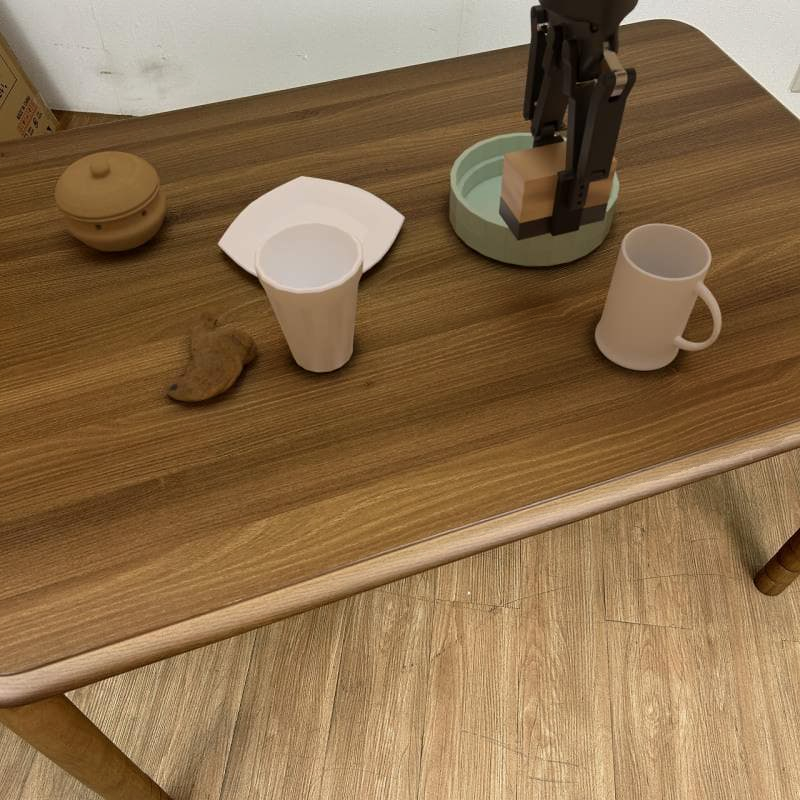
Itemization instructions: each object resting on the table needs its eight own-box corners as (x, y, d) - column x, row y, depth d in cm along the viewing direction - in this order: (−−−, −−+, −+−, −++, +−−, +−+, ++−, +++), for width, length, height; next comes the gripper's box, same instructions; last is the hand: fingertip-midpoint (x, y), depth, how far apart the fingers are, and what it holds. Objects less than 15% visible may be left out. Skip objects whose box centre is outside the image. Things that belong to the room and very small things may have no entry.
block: (582, 194, 74) (593, 134, 69) (604, 220, 71) (617, 160, 66) (498, 213, 72) (504, 153, 67) (517, 241, 69) (524, 181, 64)
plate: (425, 226, 90) (426, 213, 88) (330, 322, 80) (328, 309, 78) (301, 177, 97) (299, 163, 95) (198, 259, 87) (194, 246, 85)
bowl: (632, 198, 93) (642, 160, 88) (571, 291, 82) (580, 252, 78) (492, 155, 99) (496, 117, 95) (419, 236, 89) (420, 197, 85)
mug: (720, 368, 75) (764, 278, 65) (660, 405, 72) (696, 317, 63) (636, 301, 81) (665, 210, 72) (577, 332, 78) (599, 242, 69)
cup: (338, 403, 73) (325, 306, 63) (255, 367, 76) (230, 269, 66) (388, 337, 78) (384, 239, 68) (309, 306, 82) (294, 208, 71)
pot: (126, 193, 95) (99, 122, 87) (194, 223, 91) (173, 151, 83) (54, 244, 89) (19, 172, 81) (124, 279, 85) (94, 206, 77)
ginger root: (210, 321, 80) (202, 296, 78) (275, 364, 76) (269, 339, 73) (137, 375, 76) (126, 350, 73) (202, 424, 72) (193, 400, 69)
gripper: (498, -87, 58) (480, 173, 76) (607, 4, 47) (556, 281, 65) (585, -100, 59) (547, 158, 77) (710, -14, 49) (632, 262, 67)
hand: (551, 214), depth 71 cm, fingers closed on block, 4 cm apart
